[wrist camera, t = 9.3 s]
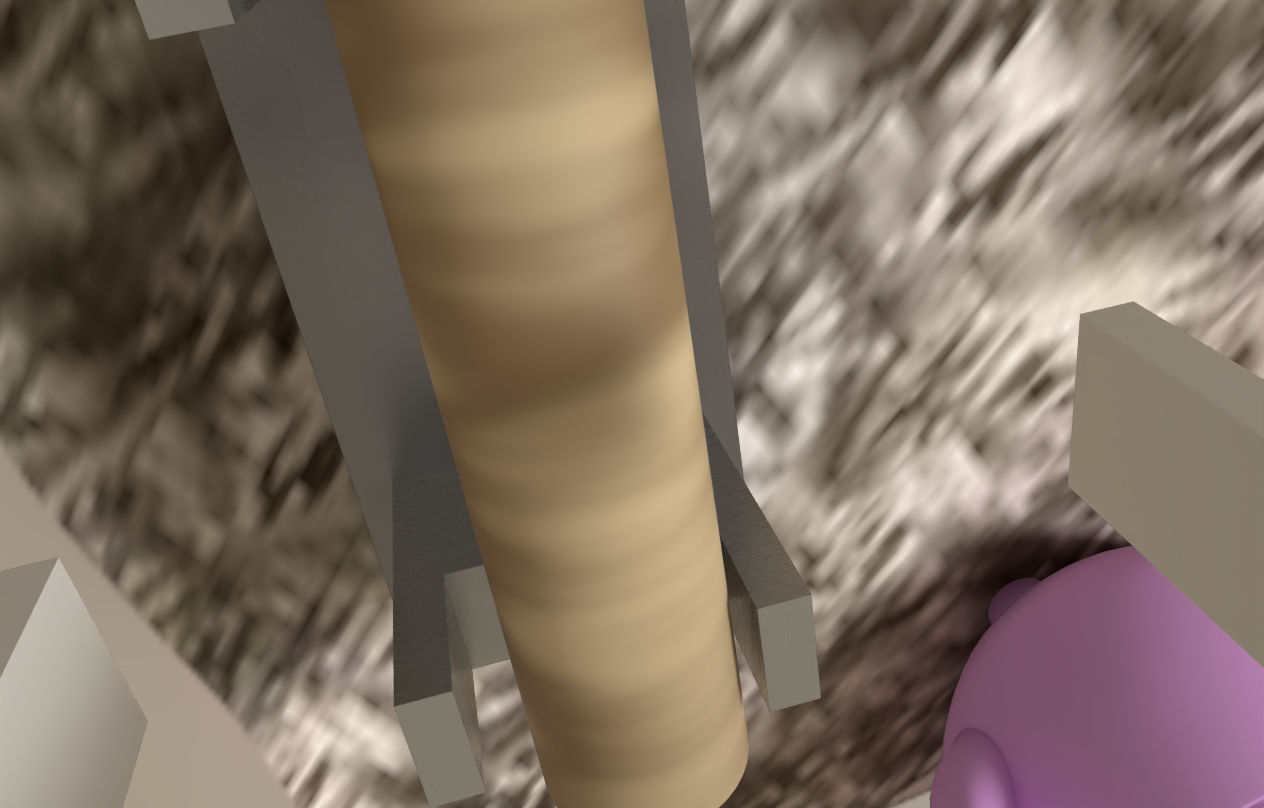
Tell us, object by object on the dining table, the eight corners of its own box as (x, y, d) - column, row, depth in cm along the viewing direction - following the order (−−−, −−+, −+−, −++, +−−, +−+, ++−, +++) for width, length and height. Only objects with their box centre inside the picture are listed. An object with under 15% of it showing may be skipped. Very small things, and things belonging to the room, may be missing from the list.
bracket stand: (113, -243, 21) (-85, -335, 12) (632, -326, 22) (791, -463, 13) (397, 593, 31) (400, 866, 23) (739, 506, 33) (868, 732, 24)
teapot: (799, 838, 41) (946, 1176, 30) (815, 543, 34) (1009, 841, 23) (1243, 745, 44) (1515, 1019, 33) (1334, 459, 37) (1709, 687, 27)
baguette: (190, -310, 15) (291, -406, 11) (488, -335, 17) (658, -423, 13) (507, 744, 26) (615, 881, 22) (668, 647, 28) (792, 756, 24)
